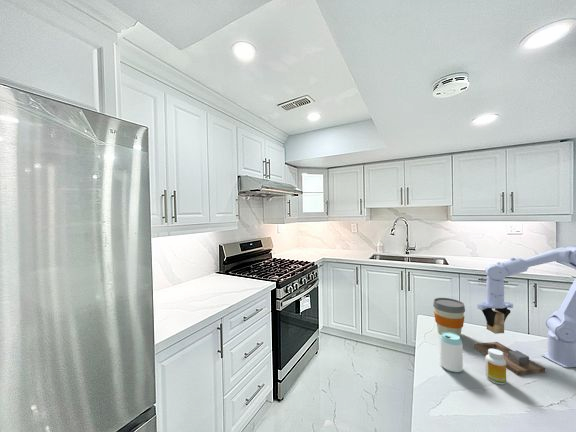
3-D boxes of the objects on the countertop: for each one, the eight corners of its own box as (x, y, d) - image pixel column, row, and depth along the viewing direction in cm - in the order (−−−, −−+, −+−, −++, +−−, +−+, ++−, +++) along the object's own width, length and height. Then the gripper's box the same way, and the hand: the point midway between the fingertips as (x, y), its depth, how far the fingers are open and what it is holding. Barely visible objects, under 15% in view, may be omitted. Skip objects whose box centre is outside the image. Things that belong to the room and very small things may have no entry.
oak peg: (495, 328, 105) (495, 310, 105) (504, 333, 101) (504, 314, 101) (486, 329, 105) (486, 310, 105) (495, 333, 101) (495, 314, 101)
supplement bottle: (510, 386, 81) (510, 356, 81) (491, 384, 82) (491, 355, 82) (499, 375, 86) (499, 348, 86) (482, 373, 87) (482, 346, 87)
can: (463, 376, 86) (462, 342, 86) (439, 369, 90) (439, 337, 90) (462, 365, 92) (461, 333, 92) (440, 359, 96) (439, 329, 96)
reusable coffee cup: (468, 333, 115) (467, 301, 115) (461, 343, 107) (461, 309, 107) (437, 325, 124) (437, 295, 124) (429, 333, 116) (429, 302, 116)
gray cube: (517, 362, 93) (517, 350, 93) (528, 368, 89) (528, 356, 89) (508, 363, 93) (508, 351, 93) (519, 369, 89) (519, 357, 89)
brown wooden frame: (497, 345, 105) (497, 341, 105) (545, 372, 87) (545, 368, 87) (473, 347, 104) (473, 343, 104) (517, 375, 86) (517, 370, 86)
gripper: (501, 289, 108) (501, 320, 108) (471, 291, 106) (471, 322, 106) (518, 294, 101) (518, 327, 101) (485, 296, 99) (486, 329, 99)
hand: (495, 325), depth 103 cm, fingers closed on oak peg, 4 cm apart
